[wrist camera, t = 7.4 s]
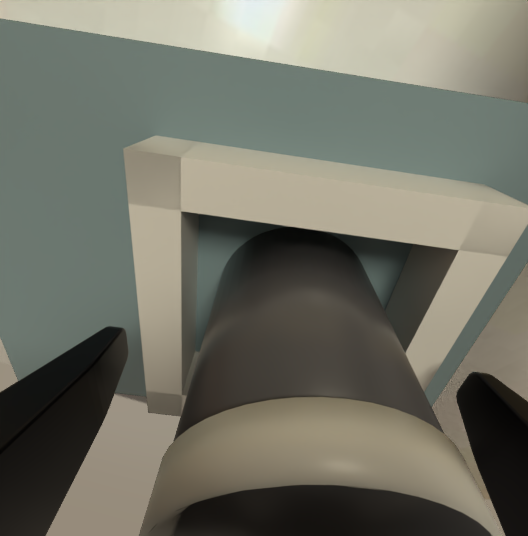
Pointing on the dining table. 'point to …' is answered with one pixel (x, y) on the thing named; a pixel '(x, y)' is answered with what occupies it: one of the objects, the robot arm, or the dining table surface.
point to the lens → (308, 412)
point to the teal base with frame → (239, 197)
